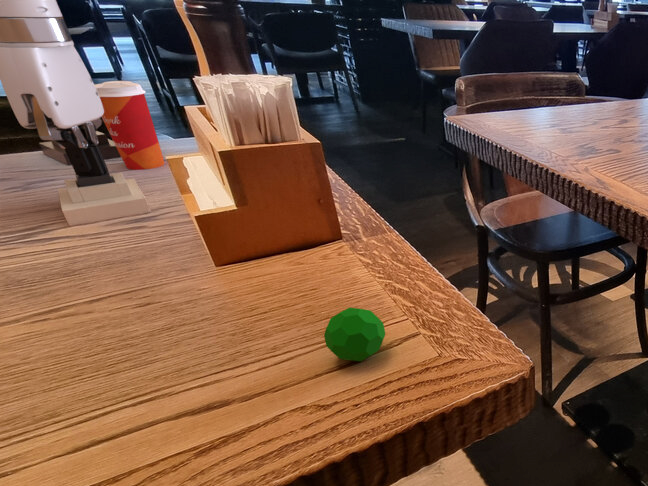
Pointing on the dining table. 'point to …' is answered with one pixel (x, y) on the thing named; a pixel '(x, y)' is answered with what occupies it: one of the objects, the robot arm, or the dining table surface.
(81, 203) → the front block
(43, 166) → the dining table surface
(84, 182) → the front key
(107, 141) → the block
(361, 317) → the polyhedron
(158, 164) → the paper cup
